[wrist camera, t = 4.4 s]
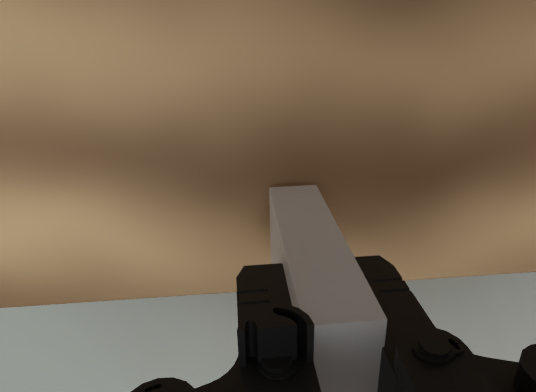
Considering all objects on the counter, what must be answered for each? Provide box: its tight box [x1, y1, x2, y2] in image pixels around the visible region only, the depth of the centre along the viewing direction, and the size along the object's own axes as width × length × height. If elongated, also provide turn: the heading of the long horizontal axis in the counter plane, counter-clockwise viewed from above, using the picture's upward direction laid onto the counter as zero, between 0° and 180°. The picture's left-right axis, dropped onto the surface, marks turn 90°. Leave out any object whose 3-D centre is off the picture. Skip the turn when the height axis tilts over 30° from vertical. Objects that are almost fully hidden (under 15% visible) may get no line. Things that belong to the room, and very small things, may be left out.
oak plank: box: [0, 0, 536, 308], centre depth 14 cm, size 10×24×2 cm, turn 91°
